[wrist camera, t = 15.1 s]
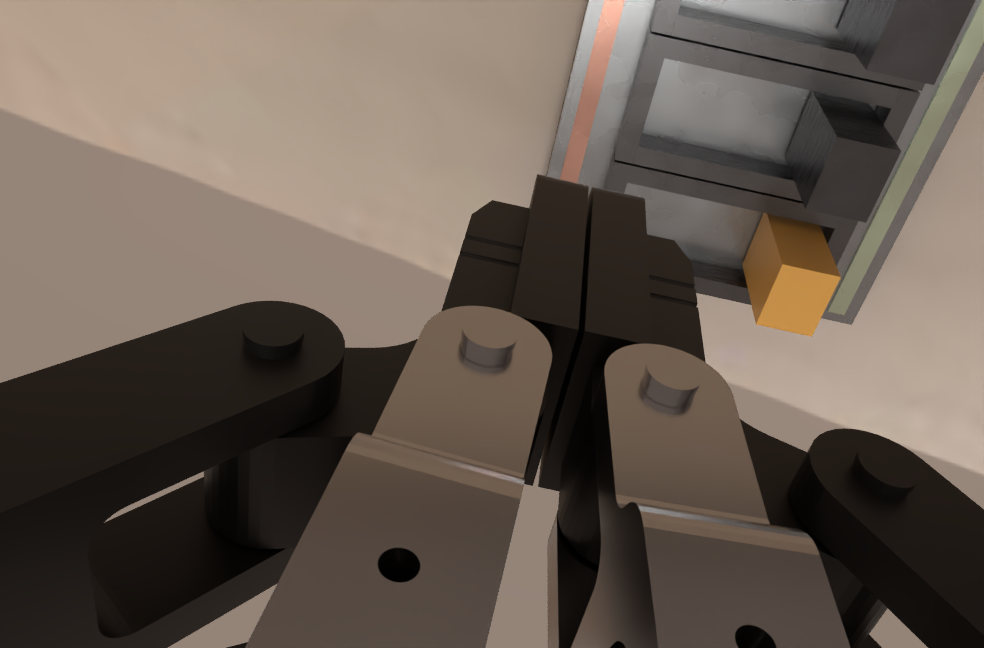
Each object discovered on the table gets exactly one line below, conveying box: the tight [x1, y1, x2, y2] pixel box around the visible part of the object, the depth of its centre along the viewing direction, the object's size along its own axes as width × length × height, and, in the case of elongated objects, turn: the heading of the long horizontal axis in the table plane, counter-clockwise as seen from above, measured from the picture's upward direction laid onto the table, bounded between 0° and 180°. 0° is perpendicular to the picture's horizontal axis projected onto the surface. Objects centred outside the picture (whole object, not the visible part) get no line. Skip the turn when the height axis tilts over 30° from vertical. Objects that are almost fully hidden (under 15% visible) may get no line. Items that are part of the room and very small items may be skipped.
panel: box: [546, 0, 984, 325], centre depth 35 cm, size 16×18×7 cm
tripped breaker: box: [742, 213, 841, 336], centre depth 37 cm, size 2×3×5 cm
